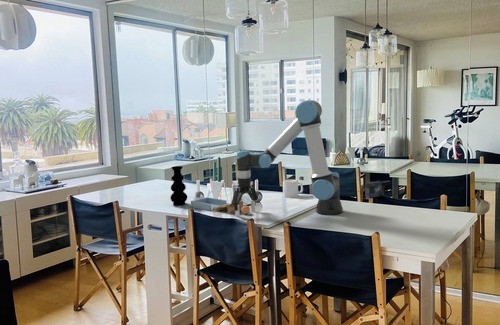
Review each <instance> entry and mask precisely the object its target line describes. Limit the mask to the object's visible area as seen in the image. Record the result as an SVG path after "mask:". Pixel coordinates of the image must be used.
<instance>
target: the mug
mask: <svg viewBox="0 0 500 325" xmlns="http://www.w3.org/2000/svg"><path fill="white" fill-rule="evenodd" d="M299 185H300V191H299ZM303 191H304V186H303V183H302V182H299V180H297V179H284V180H282V194H283V198H285V199H286V198H287V199H294V198H298V197H299V194H302V193H303Z"/></svg>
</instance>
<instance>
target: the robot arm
mask: <svg viewBox="0 0 500 325" xmlns="http://www.w3.org/2000/svg"><path fill="white" fill-rule="evenodd" d="M322 113H323V108H322V105H321V104H320V103H319V102H318V101H316V100H314V99H313V100H304V101H301V102H299V104H297V106H296V107H295V112H294V114H295V118H294V120H293V121H292V122H291V123H290V124H289V125H288V127H286V128H285V129H284V131H283V132H282V133H281V134H280V135H279V136H278V137H277V138H276V139H275V140H273V142H272V143H271V144H270V145H269V146H268V147H267V148H266V149H265V150H264V151H263V152H262V153H258V154H257V153H256V154H254V153H252V154H251V152H250V150H238V151H237V152H236V166H237V171H236V172H237V184H238V187H236V186H235V187H234V191H233V194H232V198H231V199H232V200H231V204H233V205H234V210H235V213H234V215H235V216H236V217H240V213H241V212H240V211H239V205H238V204H239V202H240V201H241V199H242V197H243V196H244V194H247V195H248V196H249V198H250V199H251V200H250V212H255V213H256V206H257V205H256V202H257V200H258V199H259V196H258V193H257V191H256V188H255V184H254V183H251V182H252V178H251V175H252V174H251V168H261V169H262V168H263V169H265V168H270V167H271V164H272V163H274V161H275V159H277V157H278V156H279V155H280V154H281V153H282V152H283V151H284V150H285V149H286V148H287V147H289V145H291V143H292V142H293V141H294V140H296V138H298V136H299V135H300V134H301V133H302V132H303V134H304V138H305V143H306V146H307V152H308V157H309V160H310V161H309V162H310V166H311V170H312V174H311V176H310V180H311V183H312V185H311V194H312V195H313V197H314V198H315V199H317V204H316V208H315V212H316V213H317V214H319V215H326V216H331V215H332V216H333V215H340V214H342V213H344V210H343V206H342V202H341V198H340V174H339V173H338V172H332V171H331V170H329V166H328V162H327V161H328V160H327V156H326V152H325V148H324V147H325V146H324V143H323V138H322V137H323V136H322V134H321V128H320V126H321V124H322V119H321V116H322ZM236 202H237V203H236Z"/></svg>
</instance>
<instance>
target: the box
mask: <svg viewBox="0 0 500 325" xmlns="http://www.w3.org/2000/svg"><path fill="white" fill-rule="evenodd" d="M364 189H365V190H364V193H365V194H364V197H365V198H369V199H372V198H379V197H380V194H381V195H382V192H383V191H382V189H383V184H382V182H381V181H377V180H376V181H369V182H365V183H364ZM380 198H381V197H380Z"/></svg>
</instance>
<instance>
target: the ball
mask: <svg viewBox="0 0 500 325" xmlns="http://www.w3.org/2000/svg"><path fill="white" fill-rule="evenodd" d="M240 212H242V214H243V215H247V214H249V213H250V212H251V207H249V206H248V205H243V207H242V209H241V211H240Z"/></svg>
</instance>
